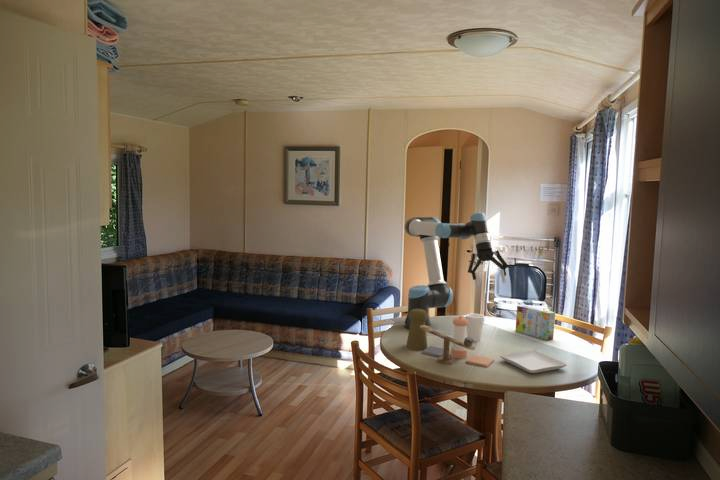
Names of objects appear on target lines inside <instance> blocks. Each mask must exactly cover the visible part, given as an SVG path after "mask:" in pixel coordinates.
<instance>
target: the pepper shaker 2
mask: <svg viewBox="0 0 720 480" xmlns="http://www.w3.org/2000/svg"><path fill="white" fill-rule="evenodd" d="M452 324H453V326H454V329H453V337H452V338H453V339H455V340H458V341H460V342H462V343H464V340H465V338H466V337H467V324H468V321H467V319H466V317H463V316H462V315H459V317H455V318H453V320H452ZM451 343H452V342H451ZM450 348H451V350H450V351H451V352H450V356H451V358H453V359H466V358H467V355H468V354H467V353H468V350H467V349H466V348H464V347H462V346H460V345H457V344H455V343H452V347H450Z"/></svg>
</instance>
